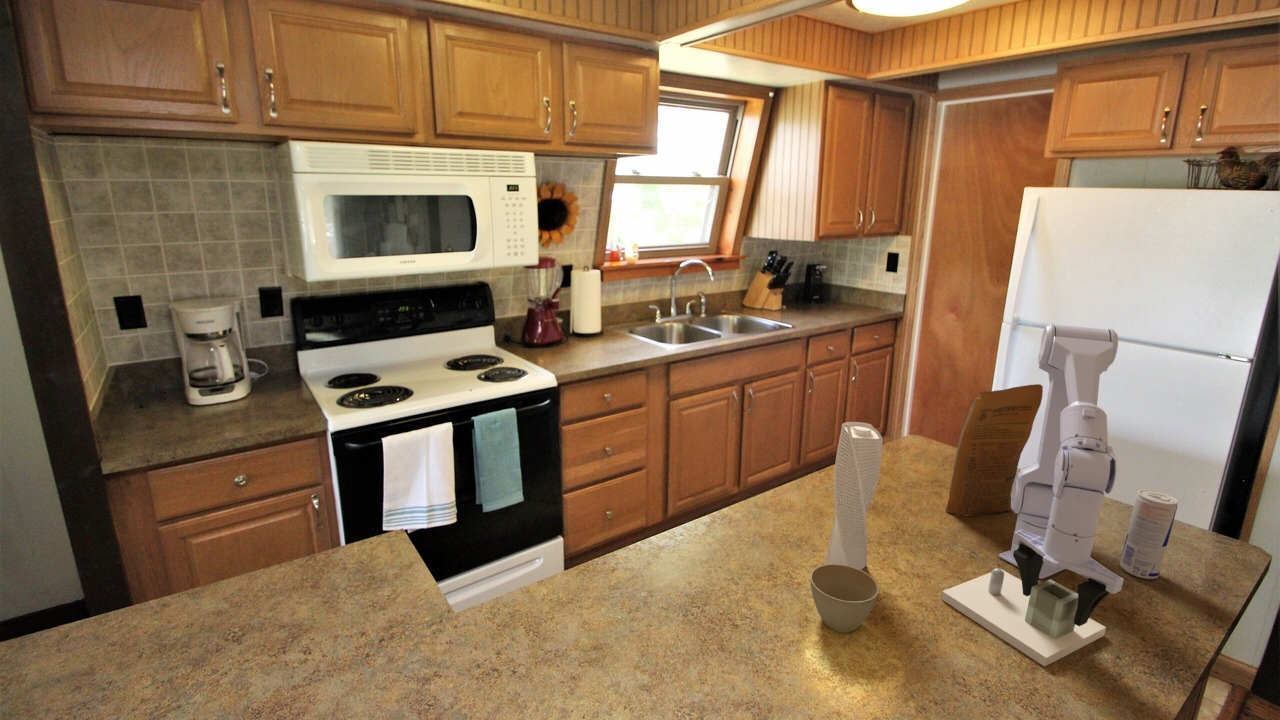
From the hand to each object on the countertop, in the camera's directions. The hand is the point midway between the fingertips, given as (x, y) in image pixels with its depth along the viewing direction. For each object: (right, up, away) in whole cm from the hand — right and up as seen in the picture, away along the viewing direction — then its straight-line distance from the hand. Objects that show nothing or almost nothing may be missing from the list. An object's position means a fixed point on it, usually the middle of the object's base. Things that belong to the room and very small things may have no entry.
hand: (1053, 607), depth 95 cm
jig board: (-2, -3, +5) cm, 6 cm away
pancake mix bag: (+10, +5, +39) cm, 41 cm away
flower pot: (-31, -4, +3) cm, 32 cm away
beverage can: (+27, -1, +18) cm, 32 cm away
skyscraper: (-26, 0, +18) cm, 31 cm away
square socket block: (0, -3, +1) cm, 3 cm away
